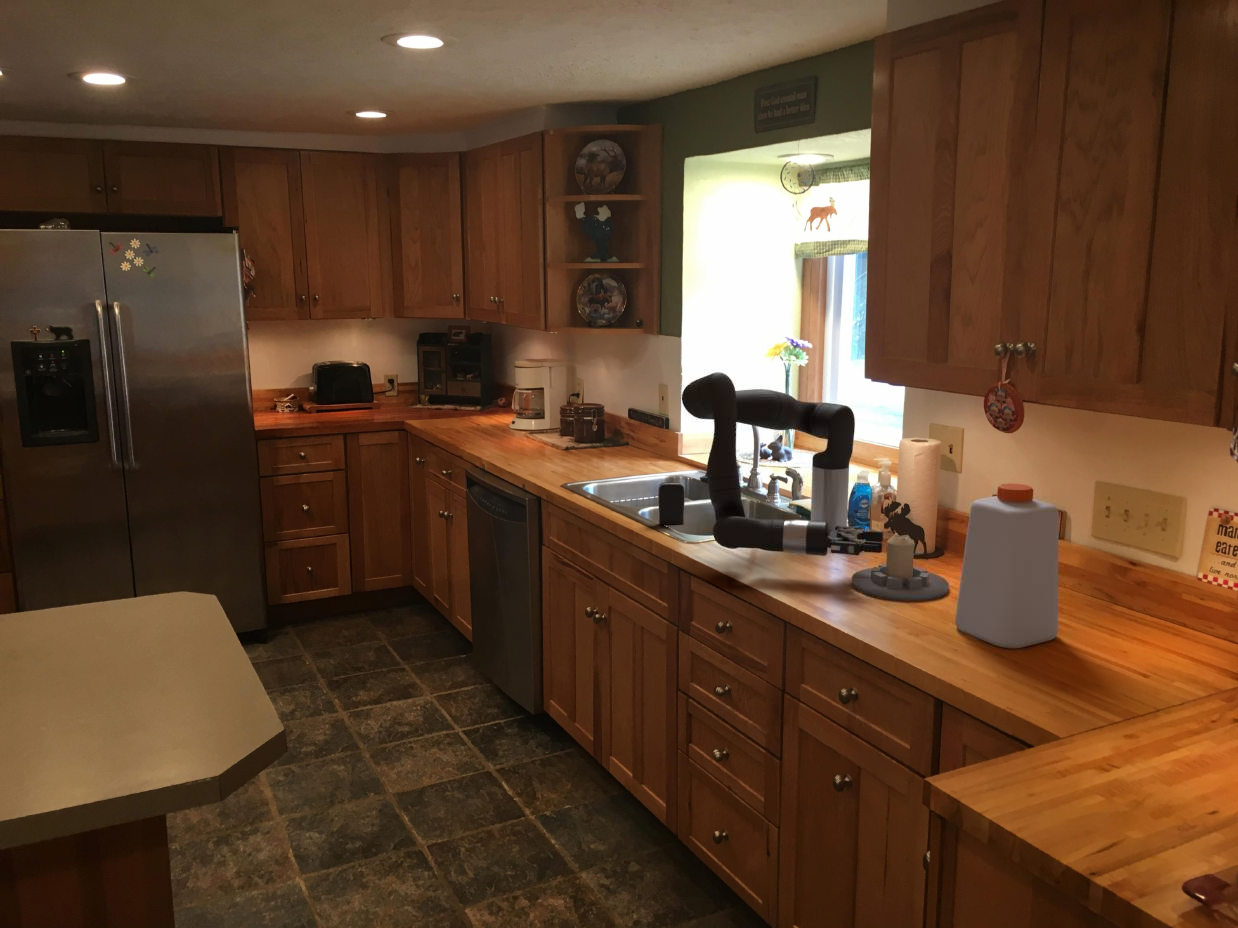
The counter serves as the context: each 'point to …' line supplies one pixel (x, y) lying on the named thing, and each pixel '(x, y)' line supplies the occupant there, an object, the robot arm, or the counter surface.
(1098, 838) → the counter surface
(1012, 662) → the counter surface
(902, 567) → the candle
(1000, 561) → the plastic bottle
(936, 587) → the candle dish
